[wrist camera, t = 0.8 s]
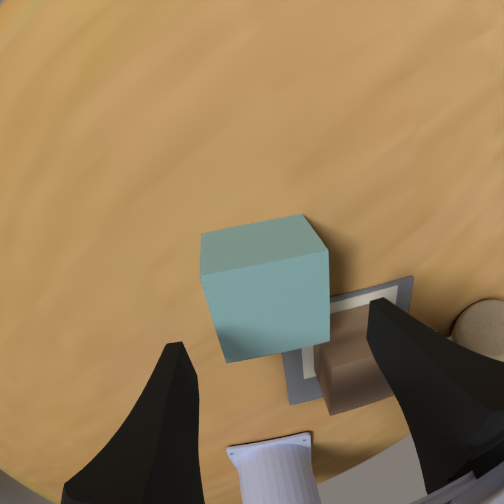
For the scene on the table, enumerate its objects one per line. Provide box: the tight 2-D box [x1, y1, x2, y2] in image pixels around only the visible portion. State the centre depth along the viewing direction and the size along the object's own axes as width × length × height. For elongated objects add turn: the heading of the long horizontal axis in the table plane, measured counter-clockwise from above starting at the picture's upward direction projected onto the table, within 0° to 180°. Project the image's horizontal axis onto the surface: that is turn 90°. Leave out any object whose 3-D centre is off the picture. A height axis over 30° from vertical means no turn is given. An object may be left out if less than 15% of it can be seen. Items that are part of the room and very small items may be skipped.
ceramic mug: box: [446, 300, 504, 362], centre depth 19 cm, size 11×8×8 cm
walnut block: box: [313, 303, 394, 416], centre depth 18 cm, size 5×5×4 cm
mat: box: [282, 276, 414, 405], centre depth 20 cm, size 10×9×1 cm
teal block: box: [200, 214, 330, 363], centre depth 15 cm, size 5×5×4 cm
